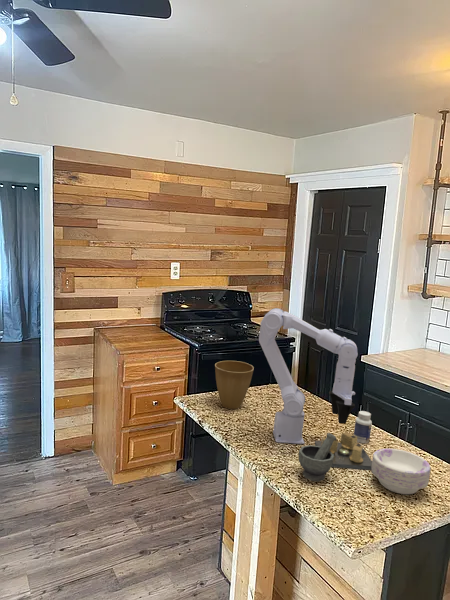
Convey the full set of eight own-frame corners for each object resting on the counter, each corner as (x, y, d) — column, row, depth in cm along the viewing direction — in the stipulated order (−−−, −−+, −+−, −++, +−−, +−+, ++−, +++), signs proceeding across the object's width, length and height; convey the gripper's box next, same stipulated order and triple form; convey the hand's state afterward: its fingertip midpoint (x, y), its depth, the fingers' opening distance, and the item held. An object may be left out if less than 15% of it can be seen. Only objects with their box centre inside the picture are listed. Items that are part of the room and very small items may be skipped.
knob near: (361, 464, 139) (363, 451, 139) (348, 461, 141) (350, 447, 140) (363, 458, 143) (365, 445, 143) (350, 455, 145) (352, 442, 144)
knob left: (322, 454, 144) (324, 441, 143) (319, 448, 148) (321, 435, 147) (337, 455, 144) (338, 442, 144) (333, 449, 148) (335, 436, 148)
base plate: (325, 466, 139) (326, 459, 138) (314, 444, 154) (315, 437, 153) (375, 470, 139) (376, 463, 139) (359, 447, 154) (360, 440, 154)
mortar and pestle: (311, 487, 126) (316, 445, 125) (289, 471, 134) (294, 431, 132) (341, 479, 132) (347, 439, 130) (319, 464, 140) (324, 426, 138)
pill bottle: (370, 444, 157) (373, 417, 156) (353, 442, 158) (357, 414, 157) (368, 438, 162) (372, 411, 161) (352, 435, 163) (356, 409, 162)
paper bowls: (376, 466, 142) (380, 442, 141) (430, 484, 134) (434, 458, 133) (363, 487, 129) (367, 460, 128) (422, 508, 121) (426, 479, 120)
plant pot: (214, 396, 189) (218, 358, 187) (251, 401, 187) (255, 363, 185) (208, 410, 175) (212, 368, 172) (247, 415, 173) (252, 373, 171)
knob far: (338, 445, 151) (340, 433, 151) (346, 443, 154) (348, 431, 153) (349, 451, 148) (350, 438, 147) (357, 448, 150) (359, 436, 149)
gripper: (363, 386, 143) (357, 428, 144) (349, 372, 157) (344, 410, 159) (340, 384, 142) (335, 426, 144) (329, 370, 157) (324, 409, 158)
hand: (338, 418), depth 151 cm, fingers open, 7 cm apart
